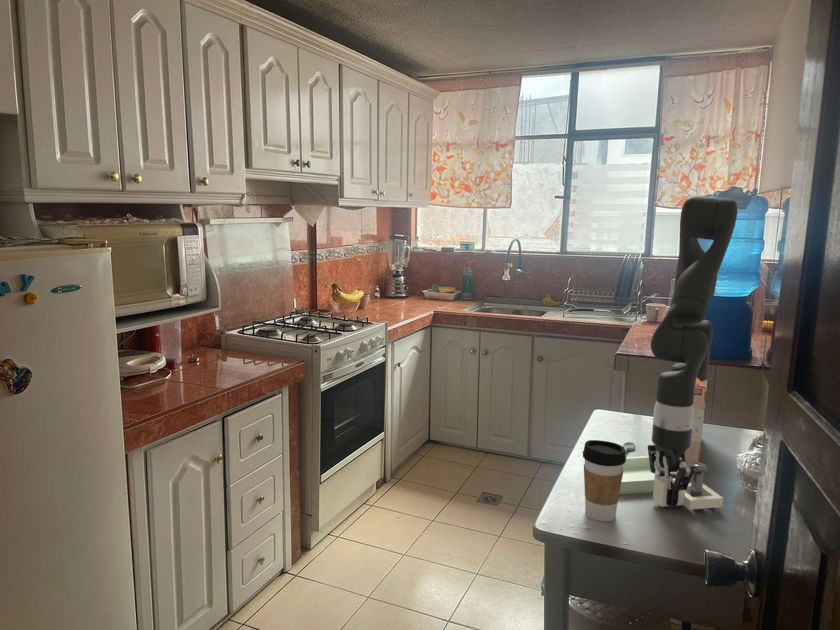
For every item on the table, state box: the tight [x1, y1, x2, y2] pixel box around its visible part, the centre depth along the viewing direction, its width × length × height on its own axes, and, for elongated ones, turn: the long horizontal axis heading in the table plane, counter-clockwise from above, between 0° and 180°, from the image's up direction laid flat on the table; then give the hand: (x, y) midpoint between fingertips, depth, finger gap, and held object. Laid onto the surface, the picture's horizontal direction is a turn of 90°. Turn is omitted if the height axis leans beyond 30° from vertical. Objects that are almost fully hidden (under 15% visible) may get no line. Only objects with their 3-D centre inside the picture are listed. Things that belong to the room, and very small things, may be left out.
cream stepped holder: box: [652, 476, 724, 510], centre depth 129 cm, size 12×8×5 cm, turn 100°
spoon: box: [622, 441, 636, 453], centre depth 158 cm, size 3×12×2 cm, turn 145°
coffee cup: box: [582, 439, 627, 523], centre depth 124 cm, size 8×8×15 cm
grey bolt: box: [690, 461, 708, 497], centre depth 130 cm, size 3×3×9 cm
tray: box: [619, 455, 677, 496], centre depth 142 cm, size 13×18×3 cm
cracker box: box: [685, 378, 708, 467], centre depth 154 cm, size 14×6×21 cm, turn 168°
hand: (666, 500), depth 129 cm, fingers closed on cream stepped holder, 3 cm apart
